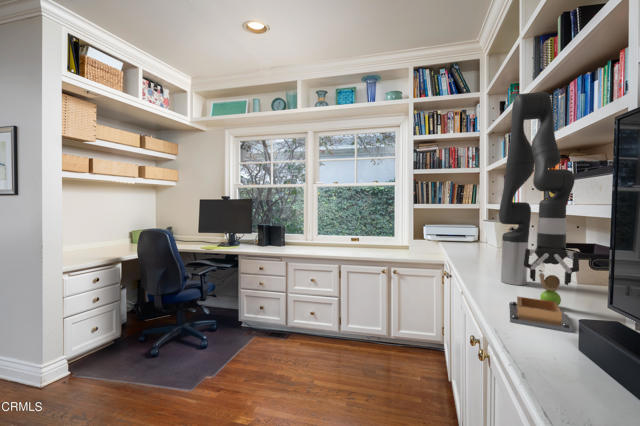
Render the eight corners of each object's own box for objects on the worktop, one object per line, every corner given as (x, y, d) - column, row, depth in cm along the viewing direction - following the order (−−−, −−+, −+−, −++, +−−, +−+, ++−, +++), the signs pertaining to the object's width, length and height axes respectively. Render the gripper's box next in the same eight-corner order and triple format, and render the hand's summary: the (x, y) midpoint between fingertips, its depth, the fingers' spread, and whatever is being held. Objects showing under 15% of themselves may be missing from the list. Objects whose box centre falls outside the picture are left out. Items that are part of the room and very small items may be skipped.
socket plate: (509, 305, 105) (509, 293, 104) (562, 313, 98) (563, 300, 98) (510, 321, 91) (510, 308, 91) (572, 332, 84) (573, 317, 84)
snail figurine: (533, 303, 106) (534, 268, 106) (552, 304, 106) (554, 268, 106) (543, 309, 101) (545, 272, 100) (564, 310, 101) (566, 272, 100)
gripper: (577, 232, 102) (575, 283, 103) (524, 230, 109) (522, 277, 110) (582, 234, 96) (580, 288, 96) (525, 231, 103) (523, 282, 103)
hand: (549, 282), depth 103 cm, fingers open, 8 cm apart
